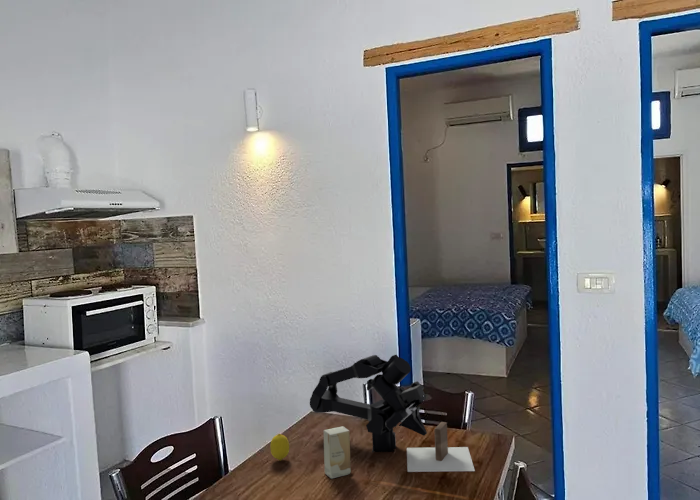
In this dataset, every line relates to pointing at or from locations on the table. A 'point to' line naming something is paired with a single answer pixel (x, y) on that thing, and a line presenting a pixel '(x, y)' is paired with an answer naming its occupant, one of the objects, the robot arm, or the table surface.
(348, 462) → the skincare box
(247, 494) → the table surface
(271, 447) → the lemon
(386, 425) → the robot arm
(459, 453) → the mat
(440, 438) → the tile
